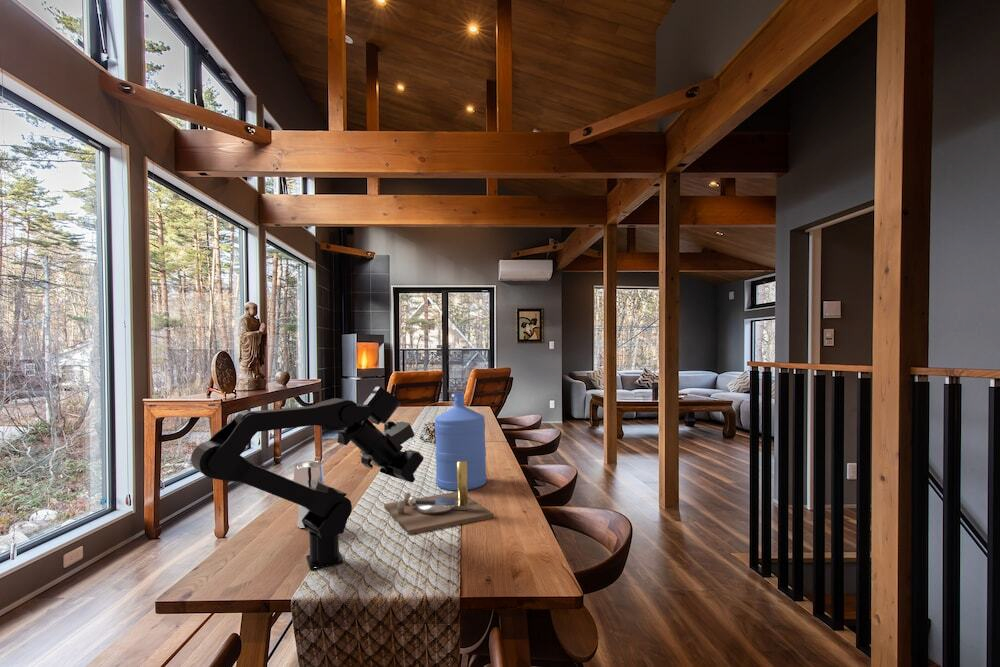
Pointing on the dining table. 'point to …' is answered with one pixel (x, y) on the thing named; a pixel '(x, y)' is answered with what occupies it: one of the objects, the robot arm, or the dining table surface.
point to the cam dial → (445, 503)
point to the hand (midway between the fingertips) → (413, 480)
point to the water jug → (460, 445)
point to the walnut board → (423, 522)
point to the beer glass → (307, 481)
